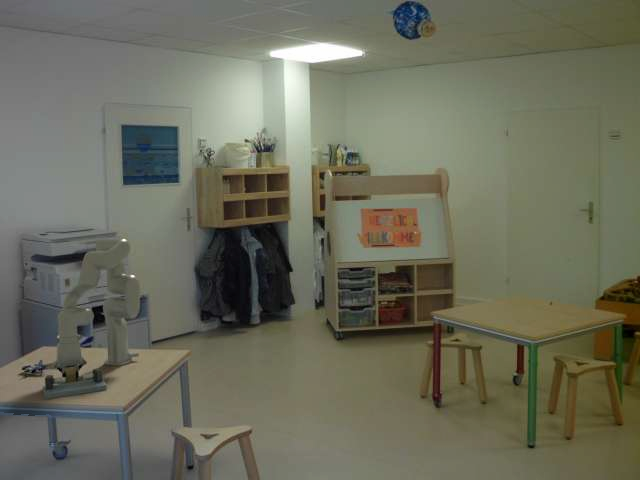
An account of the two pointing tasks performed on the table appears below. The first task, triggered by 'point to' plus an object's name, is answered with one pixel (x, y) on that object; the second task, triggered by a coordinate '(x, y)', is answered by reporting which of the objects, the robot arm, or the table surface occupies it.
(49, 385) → the shaft
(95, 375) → the shaft
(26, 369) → the toy airplane
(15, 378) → the table surface
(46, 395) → the board
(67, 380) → the olive yellow block
